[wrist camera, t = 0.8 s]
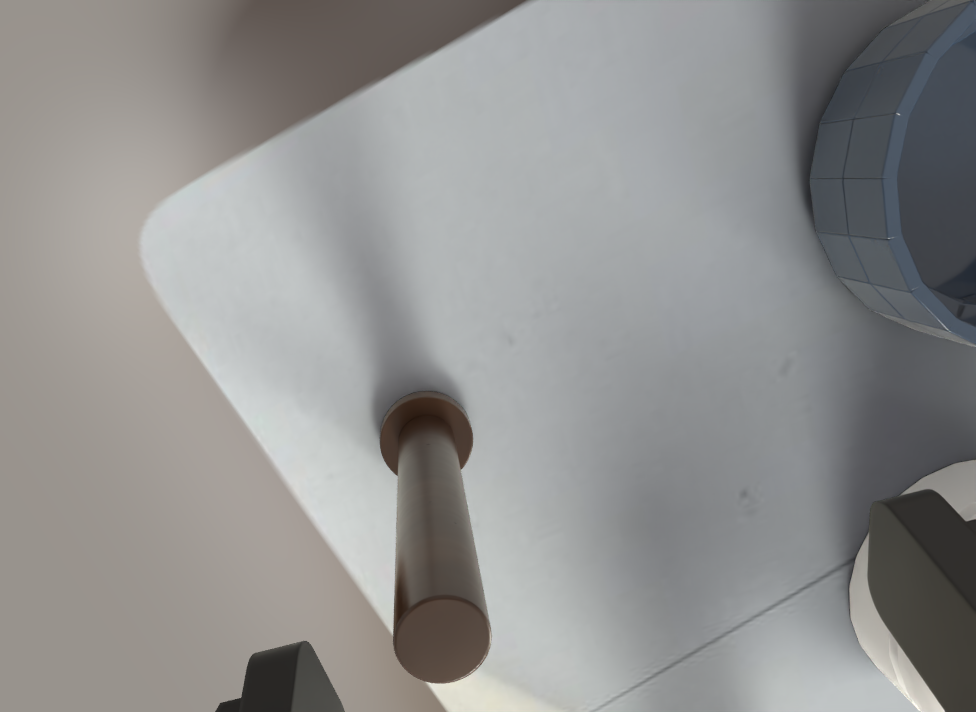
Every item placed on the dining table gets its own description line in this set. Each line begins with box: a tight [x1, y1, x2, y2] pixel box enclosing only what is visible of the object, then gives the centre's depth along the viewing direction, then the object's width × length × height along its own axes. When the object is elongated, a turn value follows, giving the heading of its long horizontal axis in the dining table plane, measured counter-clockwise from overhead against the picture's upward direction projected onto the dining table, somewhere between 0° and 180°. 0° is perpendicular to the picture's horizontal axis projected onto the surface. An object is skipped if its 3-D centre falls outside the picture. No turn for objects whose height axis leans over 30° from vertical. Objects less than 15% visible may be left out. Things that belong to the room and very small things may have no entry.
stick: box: [380, 391, 492, 683], centre depth 27 cm, size 4×4×16 cm
